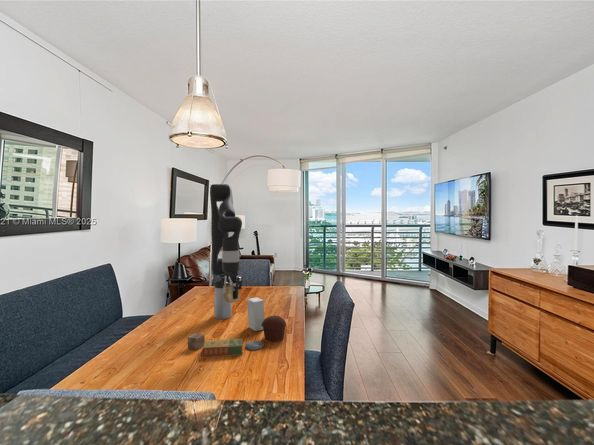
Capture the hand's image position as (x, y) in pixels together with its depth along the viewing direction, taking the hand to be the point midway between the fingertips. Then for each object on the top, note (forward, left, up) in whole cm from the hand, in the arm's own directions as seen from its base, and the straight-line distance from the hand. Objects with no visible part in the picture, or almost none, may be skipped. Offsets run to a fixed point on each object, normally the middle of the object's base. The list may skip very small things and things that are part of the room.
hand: (231, 297), depth 141 cm
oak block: (0, 0, -1) cm, 1 cm away
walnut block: (-8, -14, -20) cm, 25 cm away
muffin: (+11, +15, -20) cm, 28 cm away
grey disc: (+11, +3, -20) cm, 23 cm away
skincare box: (-5, +18, -20) cm, 28 cm away
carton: (+6, -9, -21) cm, 23 cm away
